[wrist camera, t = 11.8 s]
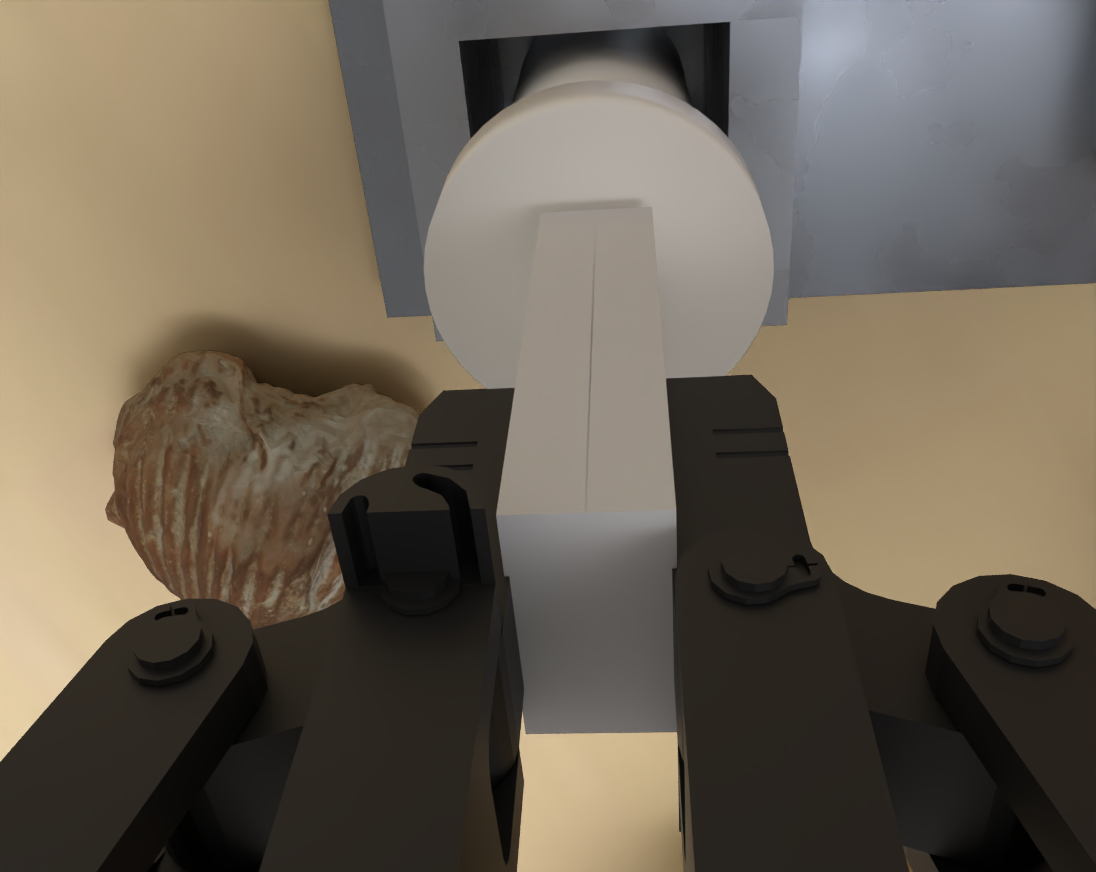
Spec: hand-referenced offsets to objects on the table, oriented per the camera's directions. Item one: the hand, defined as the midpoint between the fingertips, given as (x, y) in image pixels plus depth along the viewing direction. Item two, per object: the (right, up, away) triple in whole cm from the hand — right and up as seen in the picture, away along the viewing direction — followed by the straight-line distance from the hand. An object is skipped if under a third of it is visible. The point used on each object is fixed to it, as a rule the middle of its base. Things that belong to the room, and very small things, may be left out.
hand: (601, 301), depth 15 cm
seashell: (-8, -2, +18) cm, 20 cm away
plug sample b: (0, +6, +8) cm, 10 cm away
